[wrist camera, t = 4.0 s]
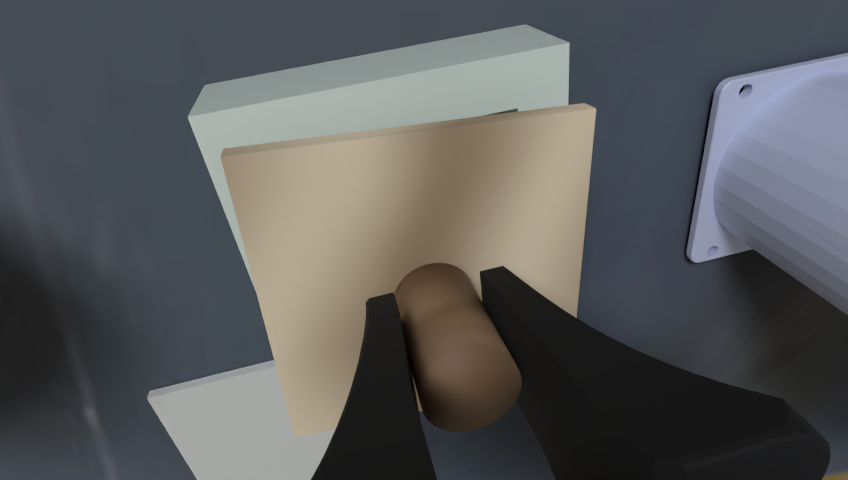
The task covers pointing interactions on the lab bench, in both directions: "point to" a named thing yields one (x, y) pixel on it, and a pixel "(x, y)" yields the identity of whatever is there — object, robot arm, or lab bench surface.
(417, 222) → the lid
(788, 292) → the lab bench surface
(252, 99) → the dish
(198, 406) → the mat
